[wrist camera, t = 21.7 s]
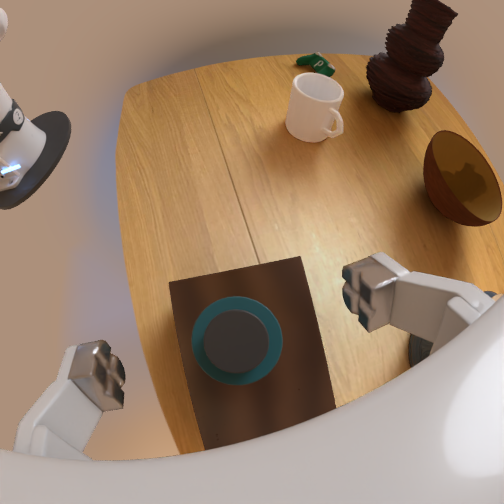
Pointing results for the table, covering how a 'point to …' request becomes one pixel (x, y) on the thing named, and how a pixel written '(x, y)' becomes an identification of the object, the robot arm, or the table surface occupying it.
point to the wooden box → (279, 378)
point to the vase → (410, 57)
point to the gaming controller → (317, 64)
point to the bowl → (461, 181)
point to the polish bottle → (237, 340)
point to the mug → (314, 108)
